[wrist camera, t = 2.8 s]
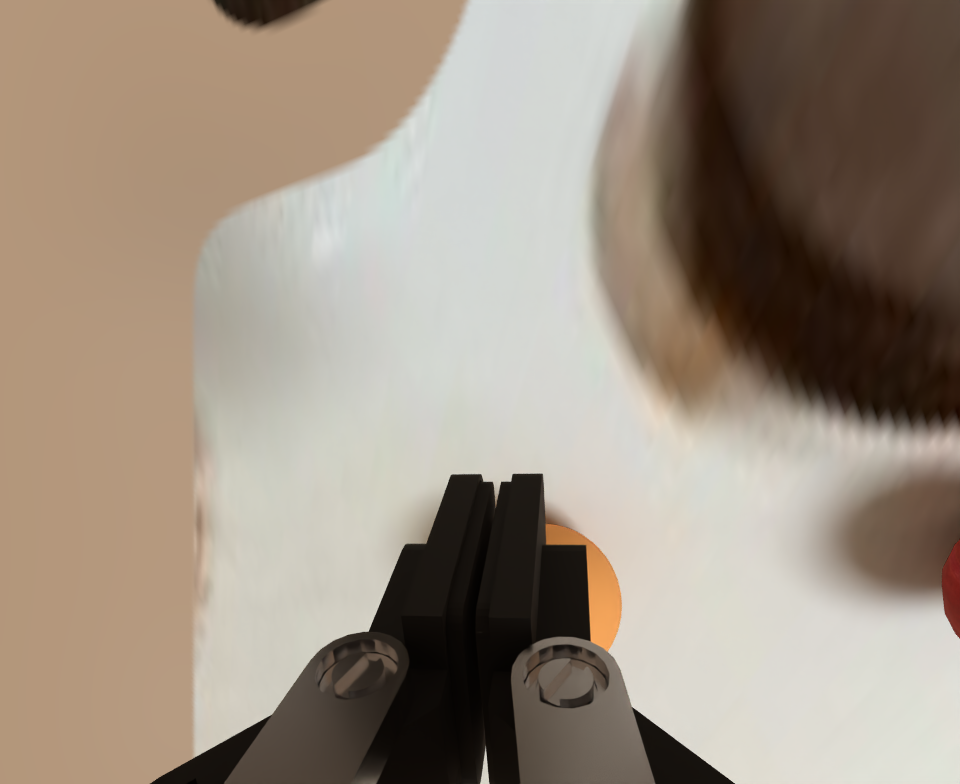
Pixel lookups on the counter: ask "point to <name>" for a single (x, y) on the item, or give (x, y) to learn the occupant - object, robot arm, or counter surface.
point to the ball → (595, 586)
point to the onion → (952, 588)
